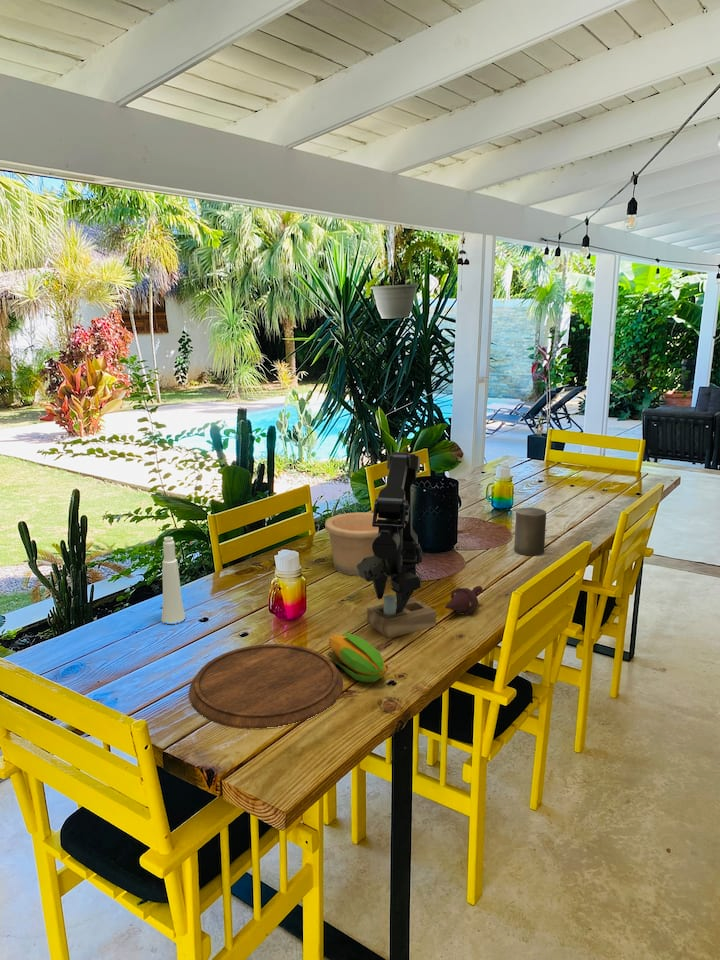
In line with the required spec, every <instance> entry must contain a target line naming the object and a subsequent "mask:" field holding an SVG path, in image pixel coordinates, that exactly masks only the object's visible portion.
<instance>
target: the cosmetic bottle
mask: <svg viewBox="0 0 720 960" xmlns="http://www.w3.org/2000/svg"><path fill="white" fill-rule="evenodd" d="M162 548H163V560H162V561H161V562H162V564H161V566H162V570H161V571H162V611H161V612H162V613H161V619H162V621H163V622H167V623H176V622H180V621H182V620H184V619H185V617H186V614H185V610H184V602H183V597H182V590H181V581H180V580H181V579H180V571H179V562H178V558H176V544H175V540H174V537H173V536H165V537H163V541H162ZM185 620H186V619H185ZM162 621H161V622H162Z"/></svg>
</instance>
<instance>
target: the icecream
mask: <svg viewBox="0 0 720 960" xmlns="http://www.w3.org/2000/svg"><path fill="white" fill-rule="evenodd" d="M482 592H483V587H482V586H480V585H477V586H474V587H473V589H472V590H471V589H469V588H467V587H464V588H461V587H457V588H455V589H453V590H452V591H451V593H450V598H451V599H450V600H449V602H448V603H447V604H446V605H445V609H449V610H452V611H453V610H454V611H456V612H457V614H462V615H464V616H466V615H467V616H468V614H470V613H472V611H474V610H475V608H476V606H477V605H478V604H479V600H478V595H479V594H481V593H482Z"/></svg>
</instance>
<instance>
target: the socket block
mask: <svg viewBox="0 0 720 960" xmlns="http://www.w3.org/2000/svg"><path fill="white" fill-rule="evenodd" d="M366 610H367V612H366V615H367V619H366V622H367V624H368V625H370V626H371V627H372V628H374V629H375V630H376V631H378V632H379V633H380V634H382V635H383V636H384V637H386V638H387V639H391V638H394V637H399V636H402V635H406V634H410V633H414V632H418V631H421V630H425V629H429V628H432V627H436V626H437V625H436V624H437V611H436V610H435V609H434V608H432V607H430V606H429V605H427V604H425V603H424V602H422V601H420V600H419V599H417V598H415V597H410V598H409V600H408V602H407V604H406V606H405V607H404V609H403V611H402V612H400V613H399V612H398V610H397V601H396V614H394V615H390V616H386V615H385V614H384V603H383V604H380V605H375V606H371V607H367V609H366Z"/></svg>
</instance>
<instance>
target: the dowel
mask: <svg viewBox="0 0 720 960" xmlns="http://www.w3.org/2000/svg"><path fill="white" fill-rule="evenodd" d="M383 604H384V614H385V615H386V616H390V615H394V614H396V595H393V594H386V595H383Z"/></svg>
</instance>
